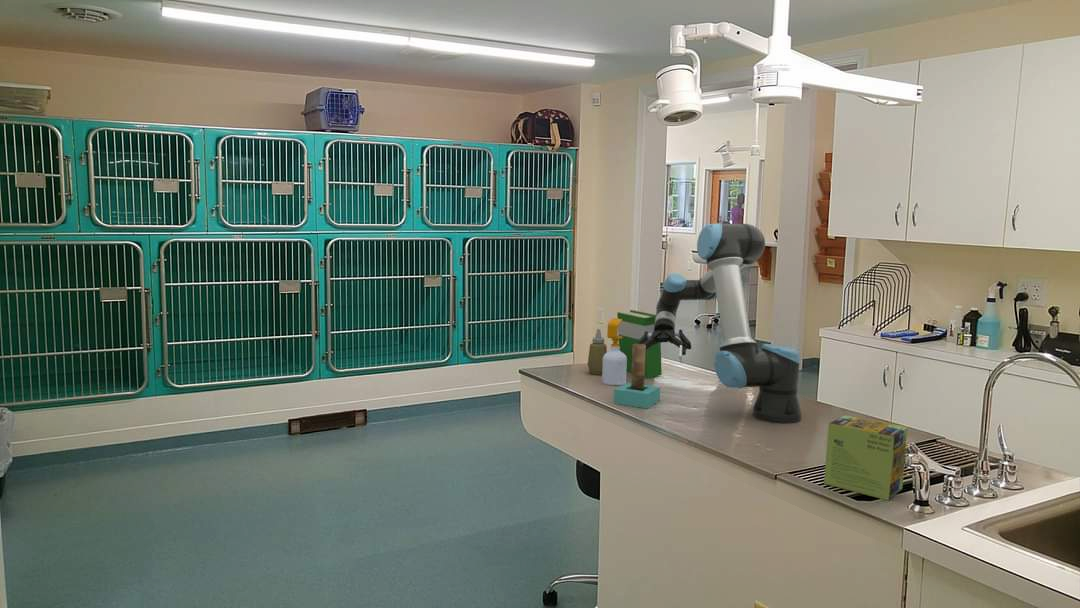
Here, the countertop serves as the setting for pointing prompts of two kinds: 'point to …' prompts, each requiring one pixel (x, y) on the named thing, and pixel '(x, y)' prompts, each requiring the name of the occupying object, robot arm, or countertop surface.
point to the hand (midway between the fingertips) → (660, 360)
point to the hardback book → (631, 332)
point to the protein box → (865, 456)
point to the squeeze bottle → (596, 354)
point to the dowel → (638, 367)
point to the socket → (637, 396)
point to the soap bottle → (614, 358)
